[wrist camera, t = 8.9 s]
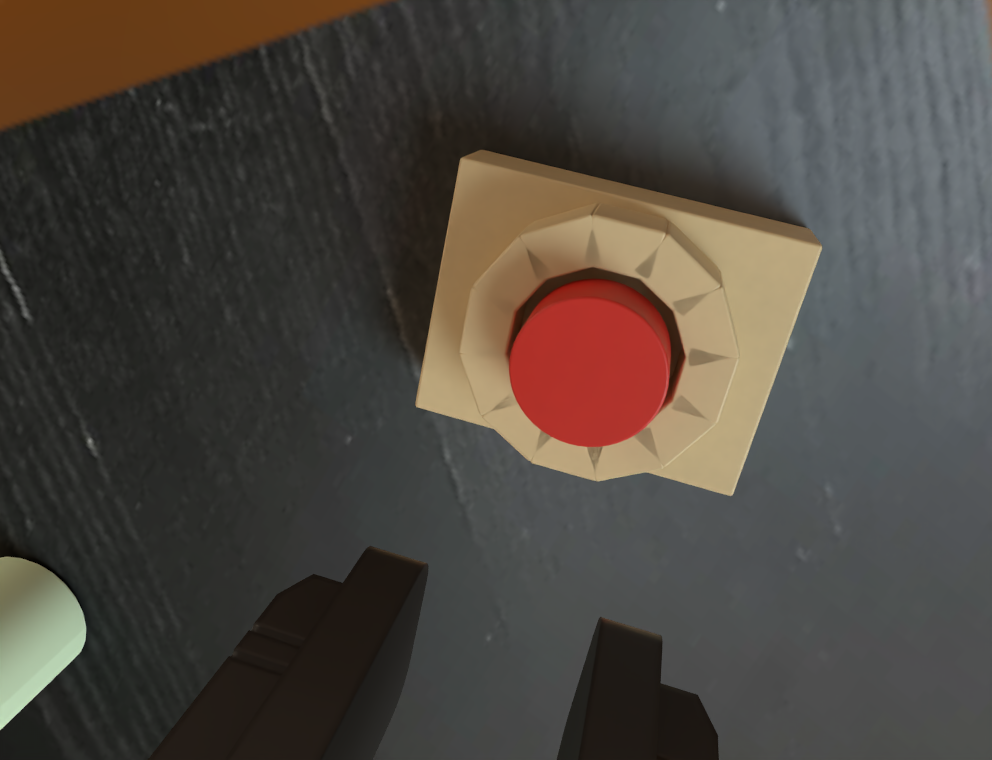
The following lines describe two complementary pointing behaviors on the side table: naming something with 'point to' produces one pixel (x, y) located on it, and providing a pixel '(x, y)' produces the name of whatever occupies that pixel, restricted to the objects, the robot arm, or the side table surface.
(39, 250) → the side table surface
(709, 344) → the button box
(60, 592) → the candle
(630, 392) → the button
